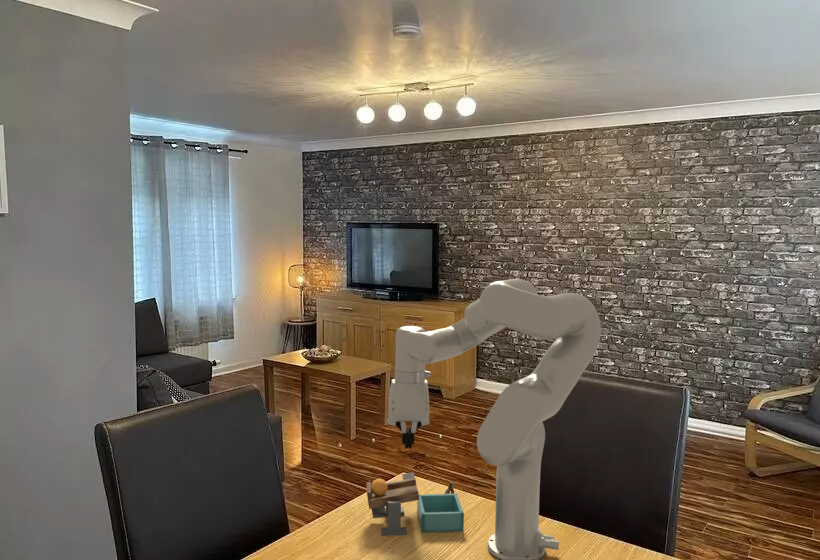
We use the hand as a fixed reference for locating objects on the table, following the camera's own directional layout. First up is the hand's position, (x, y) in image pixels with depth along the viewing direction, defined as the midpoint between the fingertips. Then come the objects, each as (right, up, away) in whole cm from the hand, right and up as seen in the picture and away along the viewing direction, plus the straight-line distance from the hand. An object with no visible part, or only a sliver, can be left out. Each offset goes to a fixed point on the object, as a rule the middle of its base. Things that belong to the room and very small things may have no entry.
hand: (407, 446), depth 158 cm
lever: (-3, -13, -4) cm, 14 cm away
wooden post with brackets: (+10, -16, +5) cm, 20 cm away
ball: (-7, -8, -8) cm, 13 cm away
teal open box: (+8, -17, -6) cm, 19 cm away
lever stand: (-4, -17, -7) cm, 18 cm away
